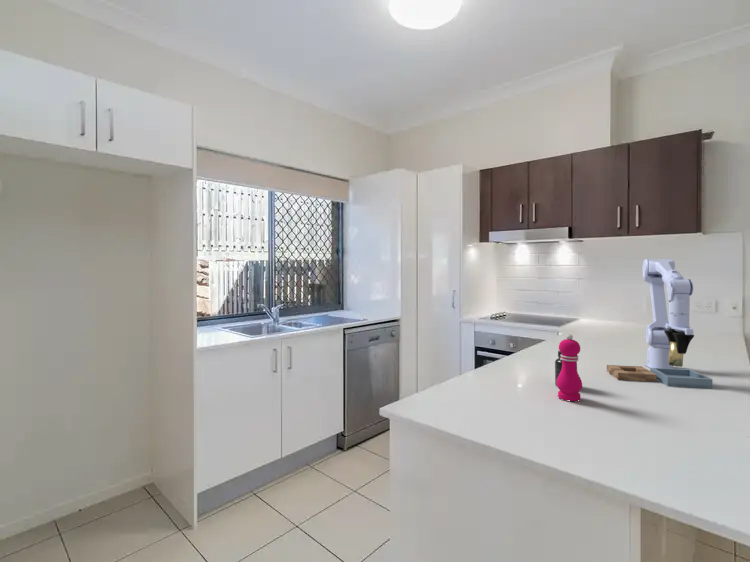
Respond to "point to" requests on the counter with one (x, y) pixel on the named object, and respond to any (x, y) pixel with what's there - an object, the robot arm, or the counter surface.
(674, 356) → the brass peg
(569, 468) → the counter surface
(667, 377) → the slate-blue tray
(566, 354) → the pepper mill
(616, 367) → the walnut socket block
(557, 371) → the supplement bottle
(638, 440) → the counter surface
